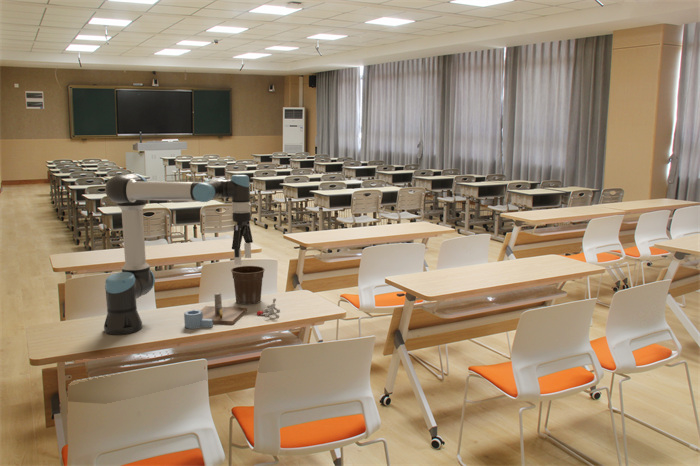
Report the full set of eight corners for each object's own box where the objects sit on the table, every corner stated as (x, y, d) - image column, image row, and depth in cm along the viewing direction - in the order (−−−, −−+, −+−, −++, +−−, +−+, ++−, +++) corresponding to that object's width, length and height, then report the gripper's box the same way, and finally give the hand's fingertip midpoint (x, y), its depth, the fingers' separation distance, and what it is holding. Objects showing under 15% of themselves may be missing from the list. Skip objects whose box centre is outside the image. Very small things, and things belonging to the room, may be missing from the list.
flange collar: (182, 328, 252) (182, 314, 251) (189, 322, 258) (188, 309, 257) (209, 329, 250) (208, 315, 249) (215, 324, 257) (214, 310, 256)
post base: (188, 322, 259) (187, 299, 257) (205, 309, 279) (204, 287, 277) (232, 324, 256) (231, 301, 255) (246, 310, 276) (246, 289, 274)
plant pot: (266, 296, 301) (265, 265, 298) (264, 305, 285) (263, 272, 282) (234, 296, 299) (233, 265, 297) (230, 306, 284) (228, 273, 281)
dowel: (219, 317, 261) (219, 310, 260) (220, 316, 262) (220, 309, 261) (222, 317, 261) (221, 310, 260) (222, 317, 262) (222, 309, 261)
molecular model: (259, 328, 264) (280, 320, 264) (253, 313, 262) (274, 305, 262) (260, 316, 278) (280, 308, 278) (254, 301, 276) (275, 294, 276)
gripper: (240, 216, 236) (242, 267, 240) (258, 208, 260) (259, 255, 264) (222, 215, 237) (224, 267, 241) (242, 207, 261) (243, 254, 265)
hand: (243, 261), depth 252 cm, fingers open, 13 cm apart
